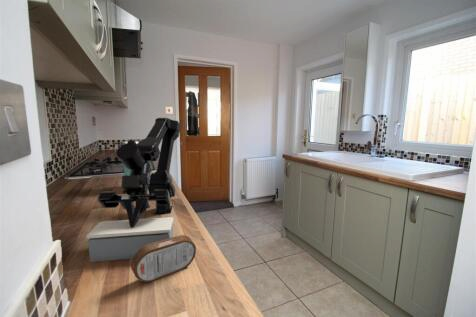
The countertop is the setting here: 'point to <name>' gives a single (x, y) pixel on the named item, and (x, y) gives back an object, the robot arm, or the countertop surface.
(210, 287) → the countertop surface
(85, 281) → the countertop surface
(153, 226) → the lid
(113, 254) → the storage box
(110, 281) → the countertop surface
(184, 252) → the tin
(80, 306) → the countertop surface
